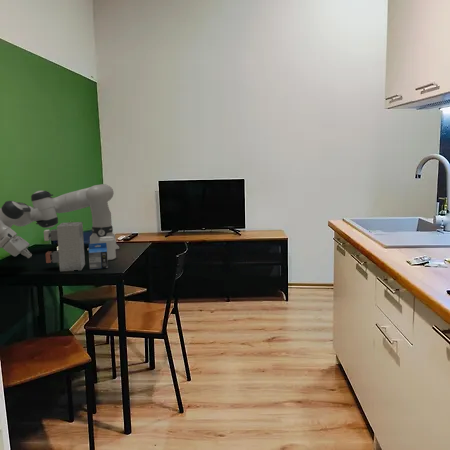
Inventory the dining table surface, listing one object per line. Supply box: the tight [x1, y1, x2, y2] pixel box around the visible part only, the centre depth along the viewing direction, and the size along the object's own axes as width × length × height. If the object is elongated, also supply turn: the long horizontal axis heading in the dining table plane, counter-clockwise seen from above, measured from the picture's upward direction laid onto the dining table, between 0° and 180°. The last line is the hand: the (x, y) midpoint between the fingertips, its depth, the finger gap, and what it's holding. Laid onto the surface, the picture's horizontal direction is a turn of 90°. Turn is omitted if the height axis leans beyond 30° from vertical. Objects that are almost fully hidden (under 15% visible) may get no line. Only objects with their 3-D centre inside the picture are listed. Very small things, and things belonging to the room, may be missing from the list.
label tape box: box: [88, 243, 109, 270], centre depth 230 cm, size 9×4×12 cm, turn 103°
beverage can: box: [100, 236, 117, 261], centre depth 251 cm, size 8×8×12 cm
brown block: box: [45, 250, 53, 264], centre depth 230 cm, size 5×6×5 cm
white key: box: [43, 229, 51, 242], centre depth 229 cm, size 5×6×5 cm
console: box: [50, 221, 86, 272], centre depth 231 cm, size 14×14×22 cm
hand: (30, 256), depth 229 cm, fingers closed
